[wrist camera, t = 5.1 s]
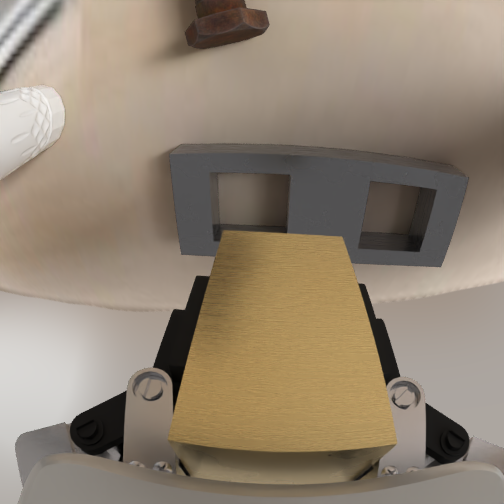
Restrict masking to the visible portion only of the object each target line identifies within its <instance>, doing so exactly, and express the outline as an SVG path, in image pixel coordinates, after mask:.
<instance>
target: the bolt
mask: <svg viewBox="0 0 504 504" xmlns="http://www.w3.org/2000/svg"><path fill="white" fill-rule="evenodd" d="M195 3H196V6H195V8H196V12H197V16H198V19H195V20H194V21H193V22H192V24H191V25H190V26H189V28H188V29H187V30H186V31H185V35H186V38H187V42H188V45H189V46H192V47H195V48H199V49H204V48H210V47H216V46H222V45H227V44H231V43H235V42H240V41H243V40H247V39H250V38H253V37H256V36H259V35H262V34H263V33H264V32H265V31H266V30H267V28H268V27H269V25H270V24H269V21H268V17H267V13H266V11H261V10H255V9H248V8H246V4H245V1H244V0H195Z"/></svg>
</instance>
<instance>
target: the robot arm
mask: <svg viewBox="0 0 504 504" xmlns="http://www.w3.org/2000/svg"><path fill="white" fill-rule="evenodd" d="M209 278H210V276H196V278H195V281H194V284H193V287H192V290H191V293H190V296H189V299H188V302H187V305H186V308H185V310H178V309H174V310H173V312H172V314H171V317H170V320H169V323H168V326H167V328H166V331H165V334H164V337H163V339H162V342H161V345H160V348H159V351H158V354H157V357H156V360H155V363H154V366H153V368H144V369H142V370H139V371H137V372H136V373H135V374H134V375H133V376H132V377H131V378H130V380H129V382H128V386H127V391H125V392H123V393H121V394H119V395H117V396H115V397H113V398H111V399H109V400H107V401H105V402H103V403H101V404H99V405H97V406H95V407H93V408H91V409H89V410H87V411H85V412H83V413H81V414H79V415H78V416H76V417H75V419H74V420H73V421H72V423H70V424H66V423H65V422H64V423H60V424H57V425H53V426H49V427H46V428H42V429H38V430H34V431H30V432H26V433H23V434H21V435H20V436H19V437H18V439H17V441H16V444H15V450H16V457H17V462H18V467H19V472H20V477H21V481H22V485H23V489H22V492H21V495H20V498H19V501H18V504H504V448H502V447H499V446H497V445H494V444H491V443H489V442H487V441H484V440H482V439H479V438H477V437H475V436H473V437H472V438H470V437H469V436H468V433H467V432H466V430H465V429H464V428H463V427H462V426H460V425H459V424H457V423H456V422H454V421H453V420H451V419H449V418H448V417H446V416H445V415H443V414H442V413H440V412H439V411H437V410H436V409H434V408H433V407H431V406H429V405H428V404H427V403H425V394H424V391H423V389H422V387H421V385H420V384H419V383H418V382H417V381H415V380H413V379H411V378H408V377H400V374H399V370H398V367H397V363H396V360H395V356H394V353H393V349H392V346H391V343H390V339H389V336H388V333H387V330H386V327H385V324H384V322H383V320H382V319H376V317H375V314H374V311H373V307H372V304H371V301H370V298H369V295H368V292H367V289H366V286H365V284H358V285H359V288H360V292H361V295H362V298H363V301H364V305H365V308H366V311H367V315H368V318H369V322H370V325H371V329H372V333H373V336H374V340H375V344H376V348H377V351H378V355H379V359H380V363H381V367H382V371H383V376H384V380H385V384H386V389H387V393H388V398H389V402H390V407H391V412H392V417H393V422H394V427H395V432H396V438H397V445H396V446H395V447H393V448H392V449H391V450H390V451H389V452H388V453H387V454H386V455H384V456H383V457H382V458H381V459H379V460H378V461H377V462H375V463H374V464H373V465H372V466H371V467H370V468H369V469H368V470H367V471H365V472H364V473H363V474H361V475H360V476H359V477H358V478H356V479H355V480H354V481H347V482H335V483H320V484H255V483H240V482H228V481H219V480H210V479H203V478H196V477H191V475H190V474H189V473H188V471H187V470H186V468H185V467H184V465H183V464H182V462H181V461H180V459H179V458H178V456H177V454H176V453H175V451H174V450H173V448H172V447H171V445H170V443H169V442H168V440H167V439H168V435H169V431H170V427H171V423H172V418H173V414H174V410H175V406H176V402H177V398H178V394H179V390H180V386H181V382H182V378H183V374H184V370H185V366H186V362H187V359H188V355H189V351H190V347H191V343H192V340H193V336H194V332H195V328H196V325H197V321H198V317H199V314H200V310H201V306H202V303H203V299H204V296H205V292H206V289H207V285H208V282H209Z"/></svg>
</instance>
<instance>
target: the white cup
mask: <svg viewBox="0 0 504 504" xmlns="http://www.w3.org/2000/svg"><path fill="white" fill-rule="evenodd" d="M64 124H65V109H64V105H63V102H62V99H61V96H60V95H59V94H58V93H57V92H56V91H55V90H54V88H52V87H49V86H45V85H38V86H32V87H23V88H16V89H11V90H5V91H0V180H2V179H3V178H4V177H6V176H7V175H9V174H10V173H12V172H13V171H15V170H16V169H18V168H19V167H21V166H22V165H23V164H25V163H26V162H27V161H29V160H31V159H32V158H34V157H35V156H36V155H38V154H39V153H40V152H42V151H44V150H45V149H47V148H49V147H51V146H52V145H53V144H54V143H55V142H56V141H57V140H58V139H59V138H60V135H61V132H62V130H63V127H64Z"/></svg>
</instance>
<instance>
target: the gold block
mask: <svg viewBox="0 0 504 504" xmlns="http://www.w3.org/2000/svg"><path fill="white" fill-rule="evenodd" d="M167 440H168V442H169V443H170V445H171V447H172V448H173V450H174V451H175V453H176V454H177V456H178V458H179V459H180V461H181V462H182V464H183V465H184V467H185V468H186V470H187V471H188V473H189V474H190V475H191V477H196V478H203V479H210V480H219V481H228V482H240V483H255V484H320V483H335V482H347V481H354V480H355V479H356V478H358V477H359V476H360V475H361V474H363V473H364V472H365V471H367V470H368V469H369V468H370V467H371V466H372V465H373V464H374V463H375V462H377V461H378V460H379V459H381V458H382V457H383V456H384V455H386V454H387V453H388V452H389V451H390V450H391V449H392V448H393V447H395V446H396V445H397V438H396V432H395V427H394V422H393V417H392V412H391V407H390V402H389V398H388V393H387V389H386V384H385V380H384V376H383V371H382V367H381V363H380V359H379V355H378V351H377V348H376V344H375V340H374V336H373V333H372V329H371V325H370V322H369V318H368V315H367V311H366V308H365V305H364V301H363V298H362V295H361V292H360V288H359V285H358V282H357V279H356V276H355V273H354V270H353V267H352V264H351V261H350V258H349V255H348V252H347V249H346V246H345V243H344V240H343V237H339V236H323V235H306V234H288V233H269V232H249V231H228V230H223V234H222V237H221V240H220V244H219V247H218V250H217V254H216V257H215V261H214V264H213V268H212V271H211V275H210V278H209V282H208V285H207V289H206V292H205V296H204V299H203V303H202V306H201V310H200V314H199V317H198V321H197V325H196V328H195V332H194V336H193V340H192V343H191V347H190V351H189V355H188V359H187V362H186V366H185V370H184V374H183V378H182V382H181V386H180V390H179V394H178V398H177V402H176V406H175V410H174V414H173V418H172V423H171V427H170V431H169V435H168V439H167Z"/></svg>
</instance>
